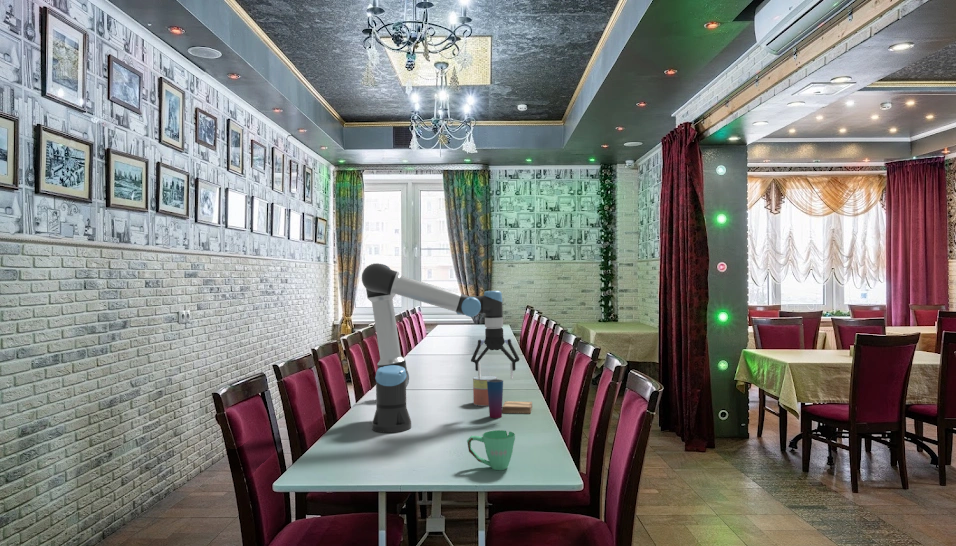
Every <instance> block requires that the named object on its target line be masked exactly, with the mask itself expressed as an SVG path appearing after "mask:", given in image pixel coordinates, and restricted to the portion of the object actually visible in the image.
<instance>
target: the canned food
mask: <svg viewBox="0 0 956 546" xmlns="http://www.w3.org/2000/svg"><path fill="white" fill-rule="evenodd" d="M491 379H498V376H495V375H481V379H478V375H476V376H473V377H472V387H473V388H472V389H473V393H472V394H473V405H474V404H475V406H477V405H478V406H479V407H489V401H488V388H487V380H491Z"/></svg>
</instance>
